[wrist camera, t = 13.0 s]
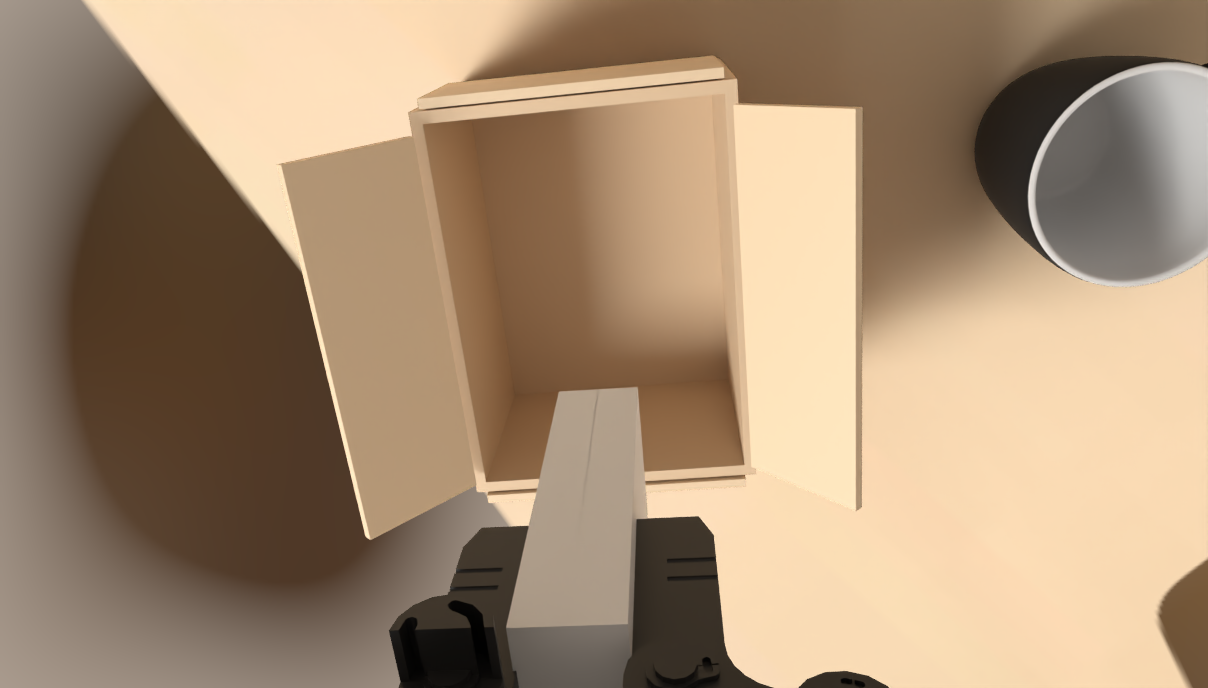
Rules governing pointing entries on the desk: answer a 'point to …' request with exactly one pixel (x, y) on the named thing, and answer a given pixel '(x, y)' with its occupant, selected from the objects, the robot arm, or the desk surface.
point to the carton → (592, 261)
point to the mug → (1103, 165)
